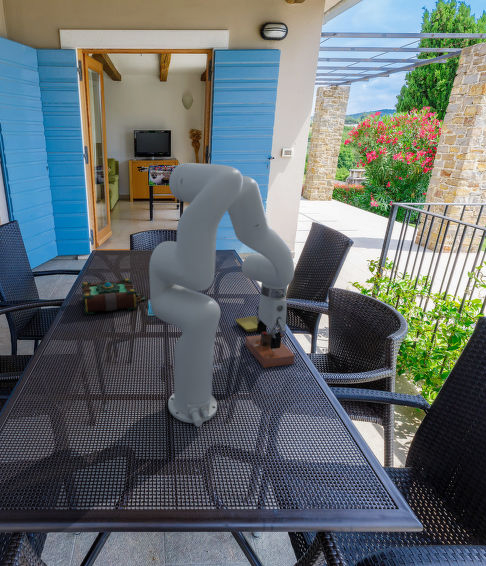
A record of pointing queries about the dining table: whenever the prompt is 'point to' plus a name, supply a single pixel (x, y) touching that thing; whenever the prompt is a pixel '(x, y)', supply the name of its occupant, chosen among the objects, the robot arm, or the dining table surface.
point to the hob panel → (269, 353)
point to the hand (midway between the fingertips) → (267, 340)
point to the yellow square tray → (248, 323)
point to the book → (109, 296)
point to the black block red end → (266, 338)
